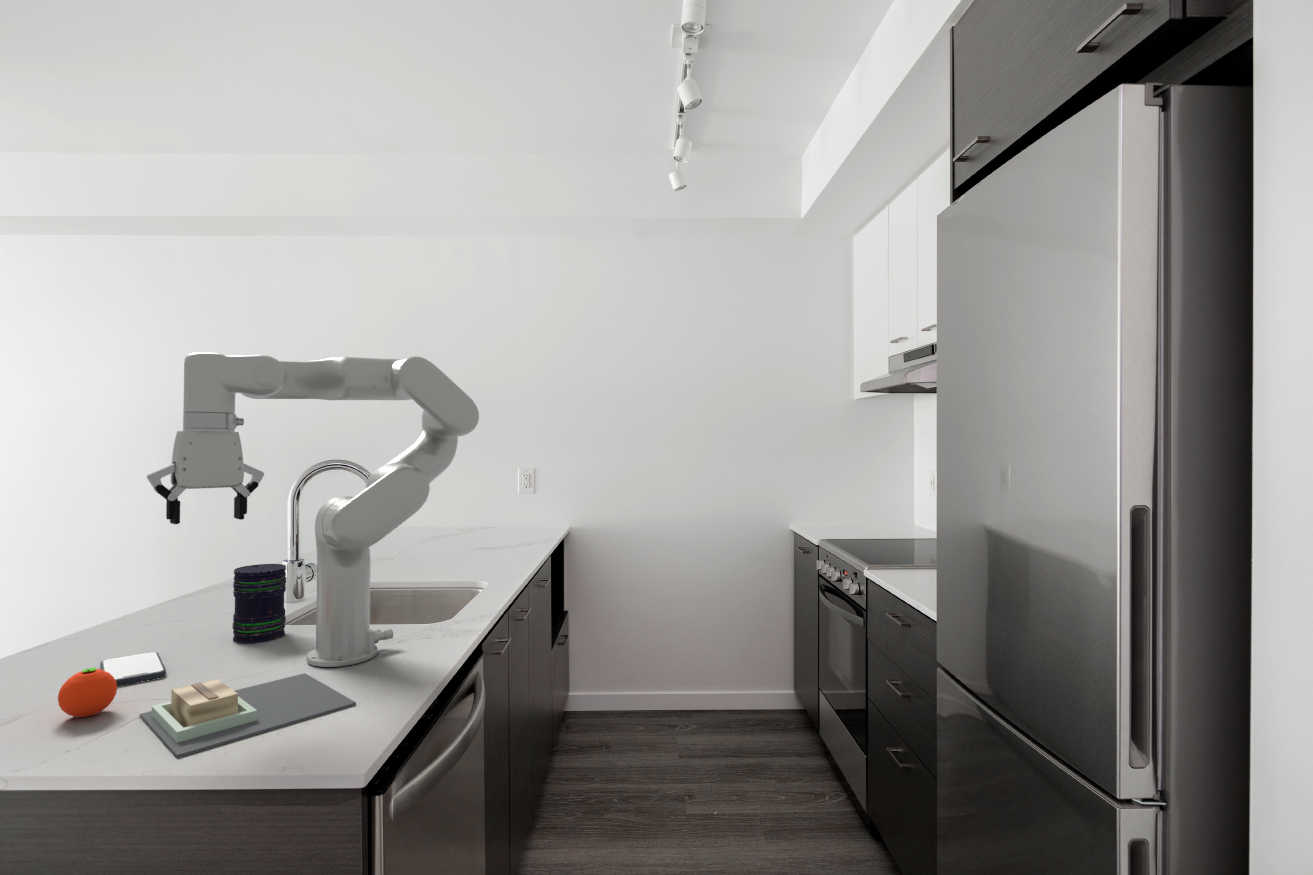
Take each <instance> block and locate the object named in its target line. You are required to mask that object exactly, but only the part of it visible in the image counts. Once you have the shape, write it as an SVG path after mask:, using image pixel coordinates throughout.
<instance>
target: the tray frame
mask: <svg viewBox="0 0 1313 875" xmlns="http://www.w3.org/2000/svg"><path fill="white" fill-rule="evenodd" d="M151 711H152V717H153V718H154V719H155V720H156V721H157V722H158V723H159V724H160V725H161V726H162V728H163V729H164V730H165V731H166V732H167V733H168V734H169V735H170V736H171V737H172V738H173V739H174V740H175V741H176V743H178V742H182V741H185V740H189V739H193V738H196V737H200V736H203V735H207V734H210V733H214V732H217V731H221V730H224V729H228V728H231V727H235V726H238V725H242V724H245V723H249V722H253V721H256V720H257V710H256V709H255V708H253V707H252V706H251V705H249V704H248V703H247V702H245V701H244V700H243V699H241V698H240V697H239V696H238V713H236V714H232V715H229V716H225V717H221V718H218V719H214V720H210V721H207V722H203V723H199V724H195V725H192V726H188V727H184V728H183V727H182V726H181V725H180V724H179V723H178V722H177V721H176V720H175V719H174V718H173V717H172V716H171V715H170V713H171V701H167V702H163V703H159V704H154V705H152V706H151Z"/></svg>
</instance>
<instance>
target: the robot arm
mask: <svg viewBox="0 0 1313 875" xmlns="http://www.w3.org/2000/svg"><path fill="white" fill-rule="evenodd" d="M236 394H240V395H242V396H244V397H246V398H249V399H252V400H325V401H410V400H411V401H412V400H413V401H414V402H415V403H416V405H418V406H419V407H420V408H421V409H423V410H422V414H421V431H420V436H419V437H418V438H417V440H416V441H414V443H413V444H411V446H408V448H407V449H406V450H404V451H403V452H401V453H400V454H398V455H397V456H395V457H394V458H392V459H391V460H390V461H388V462H387V463H385V464H383V465H382V466H379V468H377V469H376V470H375V471H373V472H372V473H371V474H370V476H369V477H368V479H367V481H366V485H365V489H364V490H362V491H361V492H360V493H359V494H356V495H355V496H350V495H340V496H335V497H333V498H330V499H328V500H327V501H326V502H324V503H323V505H321V507H320V508H319V509H318V511H317V514H316V517H315V521H314V535H315V547H316V607H315V609H316V611H315V612H316V613H315V615H316V616H315V617H316V618H315V619H316V620H315V626H316V627H315V648H314V649H312V650H310V651H309V652H308V653H307V654H306V663H307V664H309V665H311V666H313V667H321V668H334V667H335V668H337V667H339V668H340V667H346V666H351V665H356V664H357V665H358V664H361V663H363V662H367V661H369V660H371V659H373V658H374V657H376V656H377V655H378V651H379V650H378V649H379V648H378V646H377V645H376V644H378V643H379V641H386V640H390V639H393V638H394V630H393V629H392V628H390V629H389V628H388V629H384V630H381V629H380V628H379V629H371V628H370V624H371V622H370V619H371V618H370V617H371V615H370V614H371V611H370V610H371V609H370V608H371V565H372V564H371V550H370V548H371V547H372V546H374V545H375V544H377V543H378V542H380V541H381V540H383V539H384V538H385V537H386V536H388V535H389V534H390V533H392V532H393V531H394V530H396V529H397V528H398V527H399V526H401V525H402V524H404V522H407V520H409V519H410V518H411V517H412V516H413V515H415V514H416V513H417V512H418V511H419V510H420V509H421V508H422V507H423V506H424V504H425V503H426V501H427V500H428V497H429V495H430V488H431V487H430V483H432V482H433V481H434V480H435V479H436V478H438V477H439V476H440V475H441V474H443V472H445V471H446V470H447V468H449V466H450V465H451V464H452V462H453V461H454V458H455V455H456V451H457V450H458V449H457V448H458V442H459V441H458V440H459V437H462V436H466V435H468V434H470V433H471V432H473V431H474V430H475V429H476V427H477V425H478V423H479V420H480V413H479V409H478V407H477V404H476V402H474V400H473V399H472V398H471V397H470V396H469V395H468V394H467V393H466V392H465V391H464V390H463V389H462V388H460V387H459V386H458V385H457V384H456V383H455V382H454V381H453V380H452V379H451V378H450V377H448V376H447V375H446V374H445V373H444V372H443V371H442V370H441V369H440V368H438V366H436V365H435V364H434V363H433V362H431V361H430V360H428V359H426V358H424V357H422V356H416V355H415V356H414V355H413V356H409V357H406V358H405V357H404V358H401V359H400V358H373V357H372V358H370V357H350V356H338V357H328V358H325V359H319V360H318V359H317V360H308V361H306V360H305V361H284V360H283V361H282V360H278V359H276V358H275V357H273V356H270V355H264V354H249V355H246V354H245V355H228V354H224V353H217V352H201V351H200V352H192V353H189V354H187V355H186V356H185V358H184V363H183V404H182V405H183V406H182V407H183V409H182V410H183V413H182V416H183V418H182V421H183V422H182V430H178V431H176V434H175V438H174V442H173V448H172V456H171V464H169V465H167V466H164V467H162V468H160V469H157V470H156V471H152V472H151V473H148V474H147V476H146V479H147V481H148V482H149V484H150V485H151V487H152V488H153V490H154V491H155V492H156V493H157V494H158V495H160V496H161V497H162V498H163V499H164V500H166V504H165V505H166V507H165V509H166V512H165V513H166V515H165V516H166V519H167V520H169V523H170V524H173V525H179V524H180V523H181V501H180V500H179V498H178V497H180V495H182V494H183V493H184V492H185V491H186V489H189V490H190V489H192V490H193V489H219V488H221V489H222V488H223V489H224V488H231V489H232V490H233V492H235V493H236V496H234V497H233V503H234V504H233V519H236V520H244V519H245V515H247V513H248V497H250V496H251V494H252V493H253V492H254V491H255V490H256V489H257V488H258V487H259V484H260V483H261V481H262V480H263V478H264V476H265V473H264V472H263V471H262V470H259V469H257V468H255V467H253V466H251V465H248V464H246V463H244V454H243V447H242V441H241V437H240V432H239V431H235V430H236V429H237V427H239V426H244V424H245V420H244V418H243V417H237V413H236ZM245 473H247V474H248V475H250V476H251V479H250V481H249V482H248V483H247V484H246V485H244V484H243V483H244V476H245ZM169 475H170V483H171V485H172V486H171V487H170V488H167V487H166V486H165V485H164V484H163V483H162V481H161V479H162V478H165V477H167V476H169Z"/></svg>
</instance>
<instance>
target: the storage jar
mask: <svg viewBox="0 0 1313 875" xmlns="http://www.w3.org/2000/svg"><path fill="white" fill-rule="evenodd" d="M286 570H287V566H286V564H282V563H262V564H261V563H260V564H259V563H258V564H251V565H244V566H240V567H236V568H234V569H233V574H234V576H233V585H232V586H233V587H232V588H233V591H232V593H233V597H234V614H233V618H232V630H233V631H232V634H233V637H232V642H233V643H235V644H237V645H238V644H240V645H255V644H262V643H268V642H272V641H276V640H279V639H281V638H283V637H284V636H286V632H285V628H286V623H287V620H286V619H287V617H286V608H285V593H286V589H287V586H286V584H287V577H286V576H287V572H286Z"/></svg>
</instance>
